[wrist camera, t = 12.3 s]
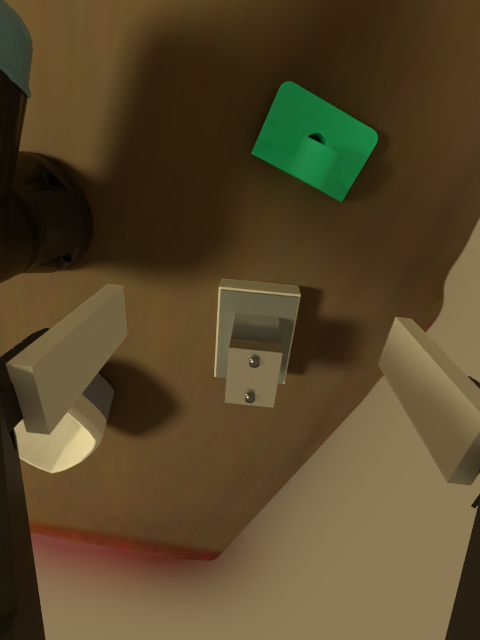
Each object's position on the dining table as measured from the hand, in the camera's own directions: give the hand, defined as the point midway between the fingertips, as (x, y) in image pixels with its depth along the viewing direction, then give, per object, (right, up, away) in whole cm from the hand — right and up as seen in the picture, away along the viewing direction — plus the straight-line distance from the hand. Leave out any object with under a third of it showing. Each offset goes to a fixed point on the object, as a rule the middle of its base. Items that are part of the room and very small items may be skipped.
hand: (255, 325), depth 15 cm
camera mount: (+8, +21, +21) cm, 31 cm away
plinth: (+1, -1, +33) cm, 33 cm away
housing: (+1, -3, +29) cm, 29 cm away
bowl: (-30, -12, +40) cm, 52 cm away
